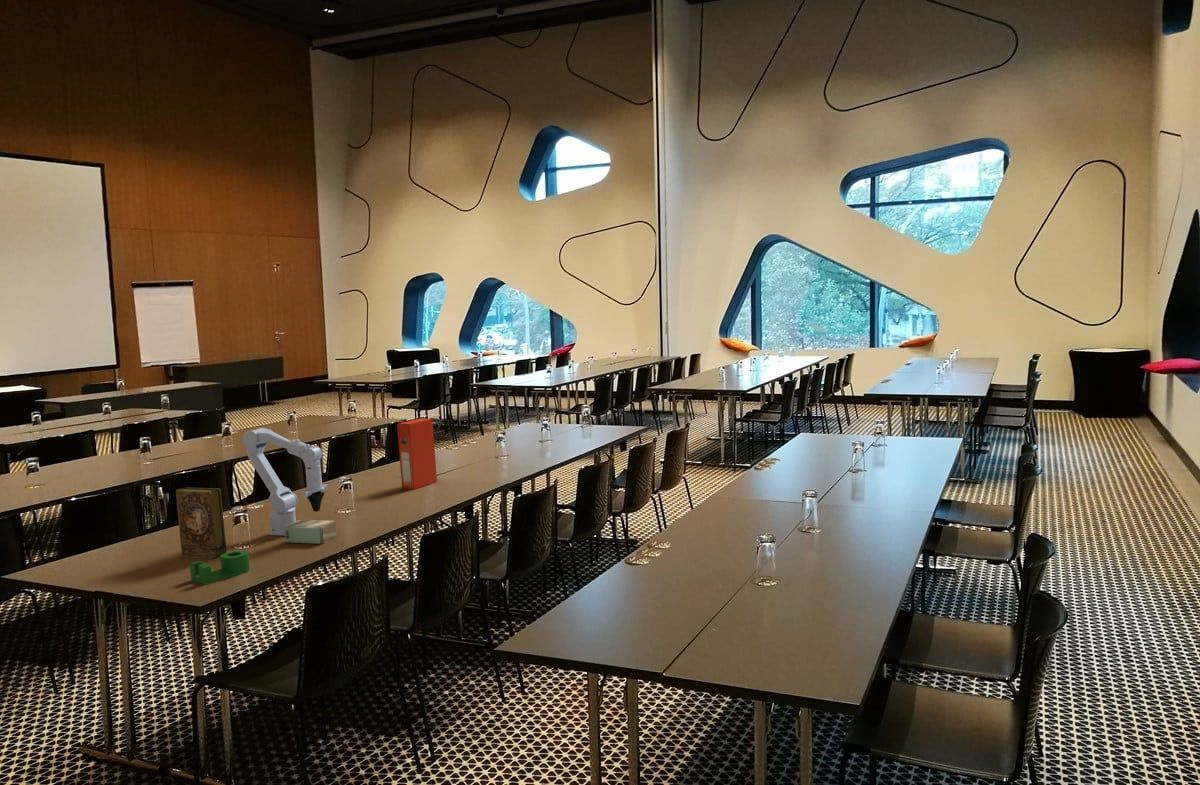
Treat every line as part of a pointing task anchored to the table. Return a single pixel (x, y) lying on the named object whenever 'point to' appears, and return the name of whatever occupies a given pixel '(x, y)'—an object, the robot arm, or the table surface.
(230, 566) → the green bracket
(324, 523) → the cabinet
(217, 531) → the book
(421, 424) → the file binder
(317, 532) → the door
